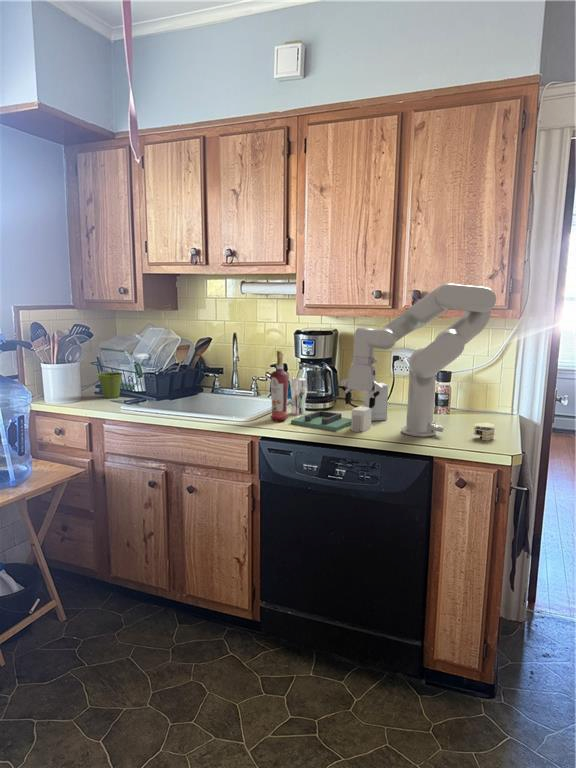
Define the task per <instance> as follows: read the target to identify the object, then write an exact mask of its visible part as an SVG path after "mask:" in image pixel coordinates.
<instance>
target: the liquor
mask: <svg viewBox="0 0 576 768" xmlns="http://www.w3.org/2000/svg"><path fill="white" fill-rule="evenodd" d="M283 359H284V351H283V350H277V351H276V366H275V367H276V369H275V370H274V371H272V372H271V373H270V390H271V391H270V395H271V396H270V397H271V415H270V418H271V419H272V420H273V421H274V422H285V420H287V418H288V415H287V414H288V412H287V411H288V396H289V395H288V392H289V380H290V379H289V378H290V374H289V372H287V371H285V370H284V360H283Z"/></svg>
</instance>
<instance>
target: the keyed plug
mask: <svg viewBox="0 0 576 768" xmlns="http://www.w3.org/2000/svg"><path fill="white" fill-rule="evenodd" d="M371 413H372V408H369V407H364V406H361V405H359V406H357V407H355V408H352V409H351V418H350V419H351V425H350V430H351V431H352V432H353V431H354V432H355V433H360V432H359V431H362V432H361V433H364V432H367V431H368V430H370V429H371V428H372V421H371Z"/></svg>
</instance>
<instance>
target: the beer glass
mask: <svg viewBox="0 0 576 768" xmlns="http://www.w3.org/2000/svg"><path fill="white" fill-rule="evenodd" d="M307 379H308V378H305V377H293V378H291V382H290V395H291V402H292V404H291V405H292V408H291V414H292V415H295V416H304V415H306V399H307V394H308V380H307Z"/></svg>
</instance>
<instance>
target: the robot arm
mask: <svg viewBox="0 0 576 768" xmlns="http://www.w3.org/2000/svg"><path fill="white" fill-rule="evenodd" d="M496 304H497V295H496V293H495V291H494V290H493V289H491V288H489V287H488V286H487V287H486V286H476V285H466V284H465V285H464V284H457V283H444V284H441V285H440V286H438V287H436V288H435V289H433V290H432V291H431V292H429V293H428V294H426V295H425V296H424V297H423V298H421V299H420V300H418V301H417V302H415V303H414V304H413V305H411V306H409V307H408V308H407V309H406V310H405V311H404V312H402V313H401V314H400V315H399V316H397V317H396V318H394V319H393V320H392V321H390V322H389V323H388V324H386V325H385V326H383V327H382V328H380V329H374V328H371V327H357V328H356V329H355V332H354V341H353V342H354V344H353V356H352V357H353V358H352V363H351V364H350V368H349V371H348V377H347V378H344V379H342V380H340V381H339V382H340V386H341V389H342V390H343V392H344V394H345V395H344V397H345V399H344V401H345V405H349V404H351V403H352V393H351V392H352V391H358V392H364V393H365V392H368V393H369V394H370V396H371V398H370V400H369V408H373V407H374V406H375V399H376V397H377V396H378V395H379V394H380V393H381V391H382V390H383V387H382V386H381V385H380V384H378V383H379V382H377V370H376V365H375V364H377V361H378V360H377V359H375V356H374V355H375V349H379V350H385V351H387V350H391V349H393V347H395V345H396V344H397V342H398V341H400V340H401V339H402V338H404V337H405V336H407V335H408V334H410V333H412V332H414V331H415V330H419V329H421V328H423V327H425V326H426V325H428V324H429V323H431V322H432V321H433V320H435V319H436V318H437V317H440V315H442V314H443V313H445V312H447V311H448V310H458V311H465V313H464V314H463V315H462V316H460V317H459V318H458V319H457V320H456V321H455V322H453V323H452V324H450V325H449V326H448V327H447V328H445V329H444V330H442V331H441V332H439V333H438V334H437V335H436V337H435V339H434V340H433V341H432V342H431V343H429V344H428V345H427V346H425V347H423V348H418V349H415V350H414V351H413V352H412V354H411V355H410V356H409V357H410V358H409V363H408V366H409V367H408V390H407V391H408V392H407V404H406V405H407V409H406V425H405V426H402V428H401V432H402V433H403V434H405V435H407V436H408V435H409V436H413V437H420V438H421V437H422V438H423V437H434V436H436V435H437V432H438V433H443V432H444V430H445V429H444V426H442V425H437V424H436V421H435V420H434V410H435V409H434V406H435V393H436V379H437V378H436V377H437V375H436V374H438V373H439V372H441V371H442V370H443V369H444V368H446V367H447V366H448V365H449V364H451V363H452V362H454V361H455V360H456V359H457V358H459V357H460V356H461V354H462V353H463V352H464V349H465V345H466V344H468V343H469V342H471V341H472V340H473V339H475V337H476V336H478V335H480V333H481V332H482V331H483V330H484V329H485V328H486V327H487V325H488V323H489V322H490V318H491V314H492V310H493V308H494V307H495V305H496ZM346 383H347V385H346ZM376 387H377V388H378V390H377V392H375V391H374V390H375V389H376Z"/></svg>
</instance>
